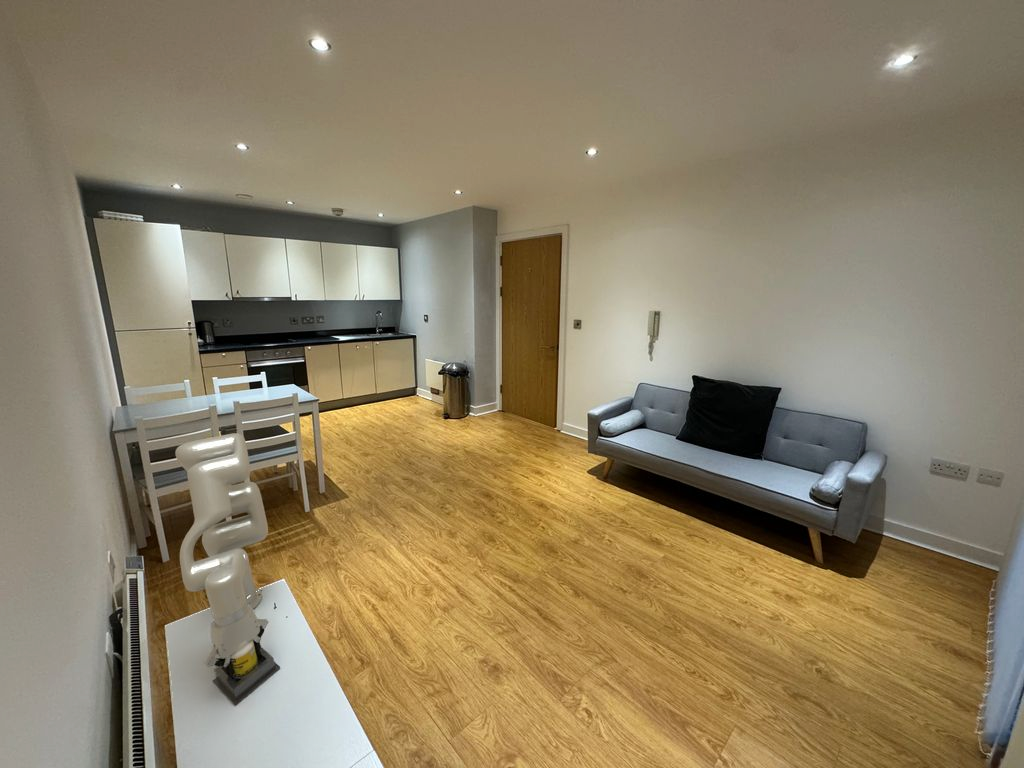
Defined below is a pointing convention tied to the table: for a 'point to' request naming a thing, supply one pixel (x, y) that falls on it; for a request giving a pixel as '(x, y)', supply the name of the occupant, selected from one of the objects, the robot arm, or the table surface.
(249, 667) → the pill bottle
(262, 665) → the socket
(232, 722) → the table surface
